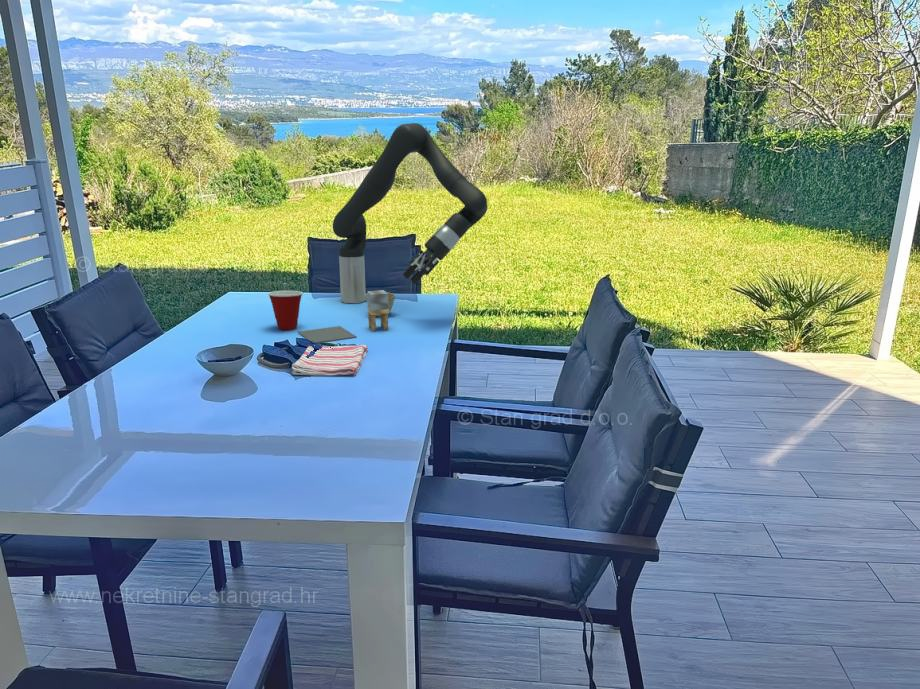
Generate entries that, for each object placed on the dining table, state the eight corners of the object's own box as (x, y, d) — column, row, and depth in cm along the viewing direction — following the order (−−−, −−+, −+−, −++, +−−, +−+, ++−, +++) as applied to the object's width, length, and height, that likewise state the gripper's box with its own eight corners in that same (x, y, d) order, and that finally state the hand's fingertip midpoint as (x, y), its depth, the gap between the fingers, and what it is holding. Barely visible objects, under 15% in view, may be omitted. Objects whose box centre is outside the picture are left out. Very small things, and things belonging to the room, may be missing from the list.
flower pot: (362, 313, 235) (361, 293, 233) (389, 310, 239) (389, 291, 237) (371, 320, 226) (370, 299, 224) (399, 317, 230) (398, 296, 228)
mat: (297, 332, 210) (297, 331, 210) (339, 327, 217) (339, 325, 217) (312, 343, 199) (312, 342, 198) (356, 337, 205) (356, 336, 205)
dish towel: (289, 378, 171) (288, 365, 170) (310, 350, 194) (309, 339, 193) (355, 378, 171) (355, 366, 170) (369, 351, 194) (368, 340, 193)
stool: (384, 326, 219) (383, 290, 215) (389, 330, 214) (388, 293, 210) (367, 327, 217) (366, 291, 213) (371, 331, 212) (370, 294, 208)
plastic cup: (309, 324, 220) (307, 288, 216) (298, 333, 210) (296, 295, 206) (277, 323, 221) (275, 287, 217) (265, 332, 211) (262, 294, 207)
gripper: (427, 231, 220) (394, 267, 219) (441, 237, 207) (406, 275, 206) (442, 246, 223) (410, 282, 222) (457, 253, 210) (423, 291, 210)
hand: (408, 279), depth 214 cm, fingers open, 8 cm apart
